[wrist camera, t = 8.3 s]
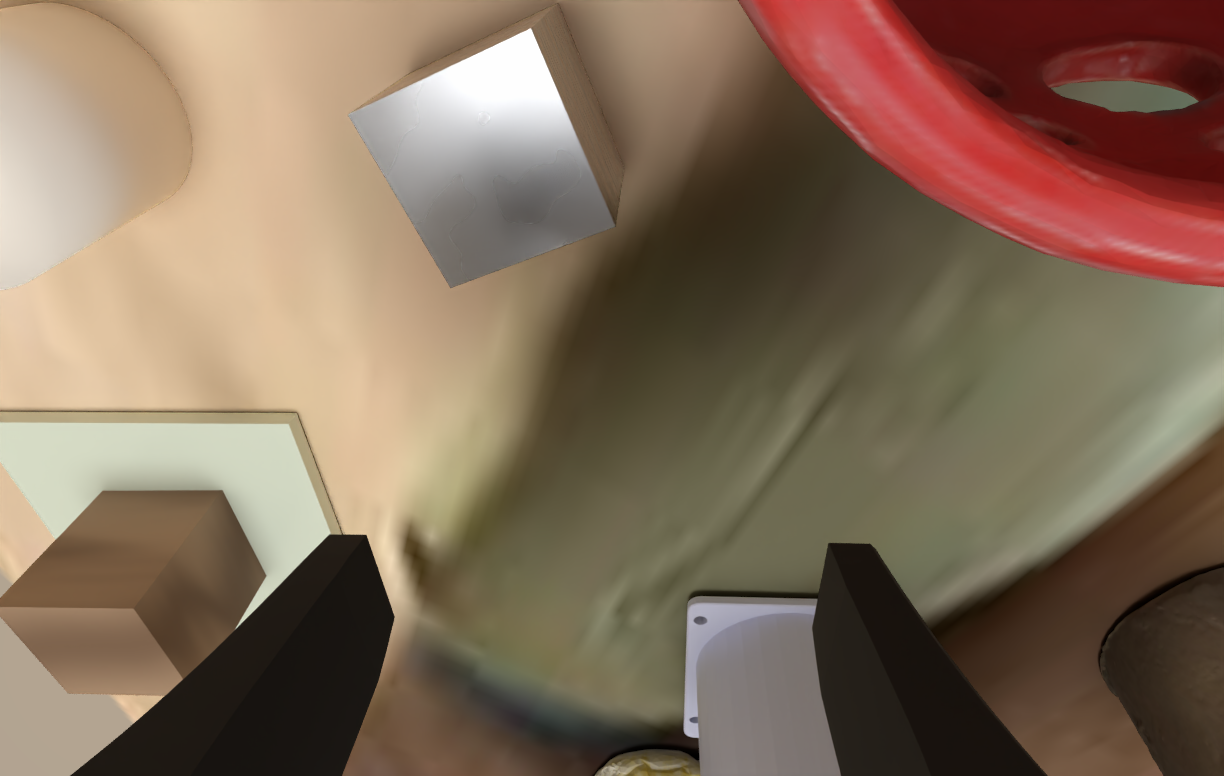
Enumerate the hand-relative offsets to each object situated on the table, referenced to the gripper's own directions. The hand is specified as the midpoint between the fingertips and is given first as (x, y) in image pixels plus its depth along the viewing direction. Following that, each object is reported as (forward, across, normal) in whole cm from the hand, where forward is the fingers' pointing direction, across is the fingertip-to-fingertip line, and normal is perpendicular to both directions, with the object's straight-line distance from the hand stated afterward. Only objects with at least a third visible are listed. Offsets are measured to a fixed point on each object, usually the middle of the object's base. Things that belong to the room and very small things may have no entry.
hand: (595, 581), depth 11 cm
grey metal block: (+10, +2, -4) cm, 12 cm away
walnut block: (+10, +16, +10) cm, 22 cm away
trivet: (+10, +16, +10) cm, 22 cm away
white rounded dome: (+10, +14, -5) cm, 18 cm away
